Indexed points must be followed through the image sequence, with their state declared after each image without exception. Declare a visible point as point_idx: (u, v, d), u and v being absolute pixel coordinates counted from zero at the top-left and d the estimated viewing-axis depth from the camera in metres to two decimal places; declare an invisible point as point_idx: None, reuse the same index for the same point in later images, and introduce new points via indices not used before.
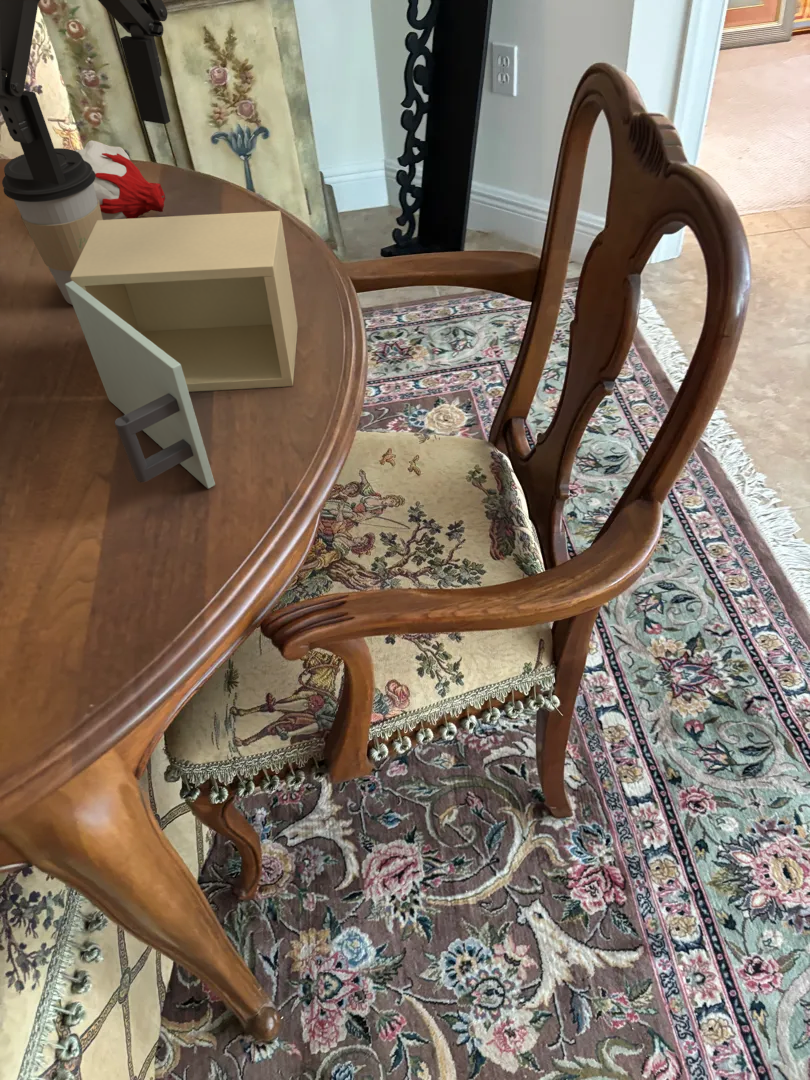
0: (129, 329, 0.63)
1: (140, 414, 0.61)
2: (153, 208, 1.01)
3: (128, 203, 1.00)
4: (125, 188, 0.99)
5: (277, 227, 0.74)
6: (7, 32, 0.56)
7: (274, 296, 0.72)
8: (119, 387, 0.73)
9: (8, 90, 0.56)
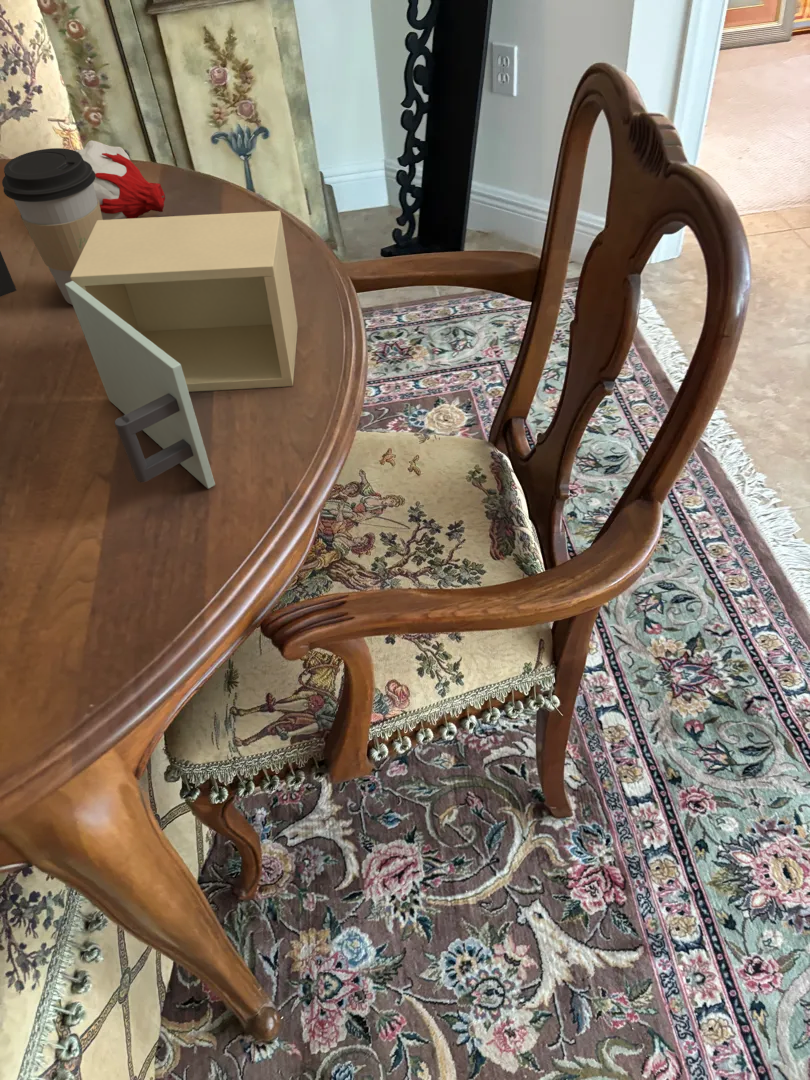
0: (129, 329, 0.63)
1: (140, 414, 0.61)
2: (153, 208, 1.01)
3: (128, 203, 1.00)
4: (125, 188, 0.99)
5: (277, 227, 0.74)
6: None
7: (274, 296, 0.72)
8: (119, 387, 0.73)
9: None
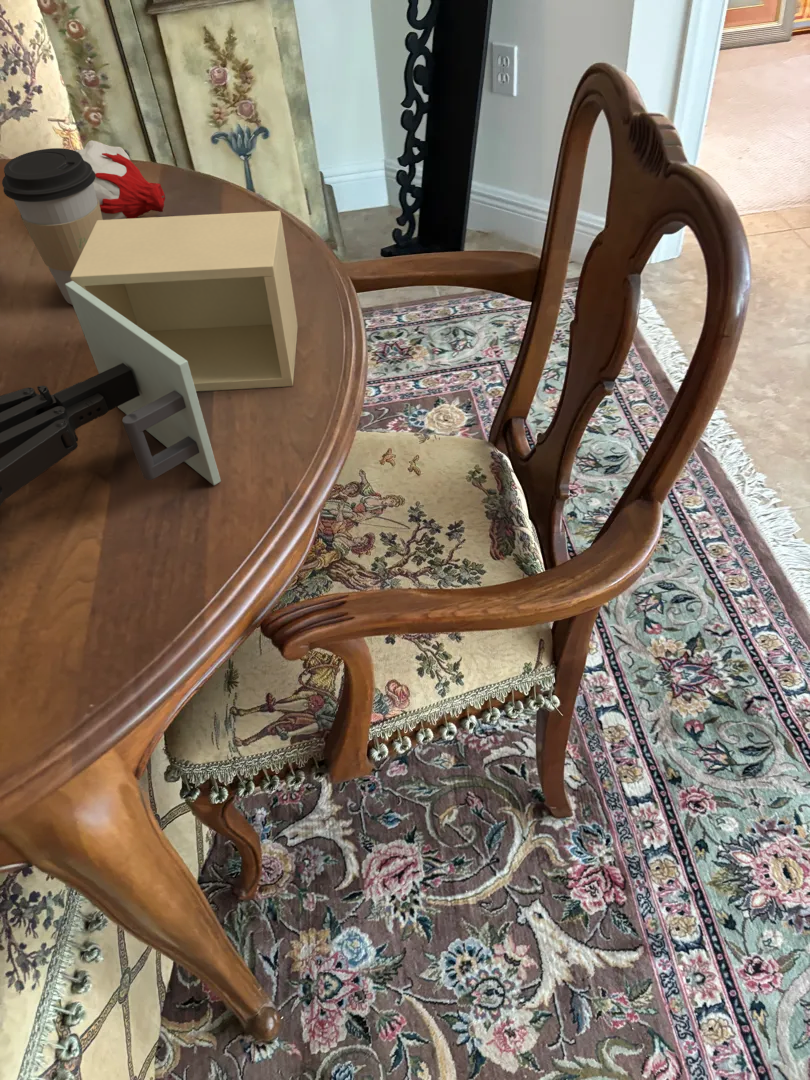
0: (134, 327, 0.63)
1: (147, 412, 0.61)
2: (153, 208, 1.01)
3: (128, 203, 1.00)
4: (125, 188, 0.99)
5: (277, 227, 0.74)
6: None
7: (274, 296, 0.72)
8: None
9: None
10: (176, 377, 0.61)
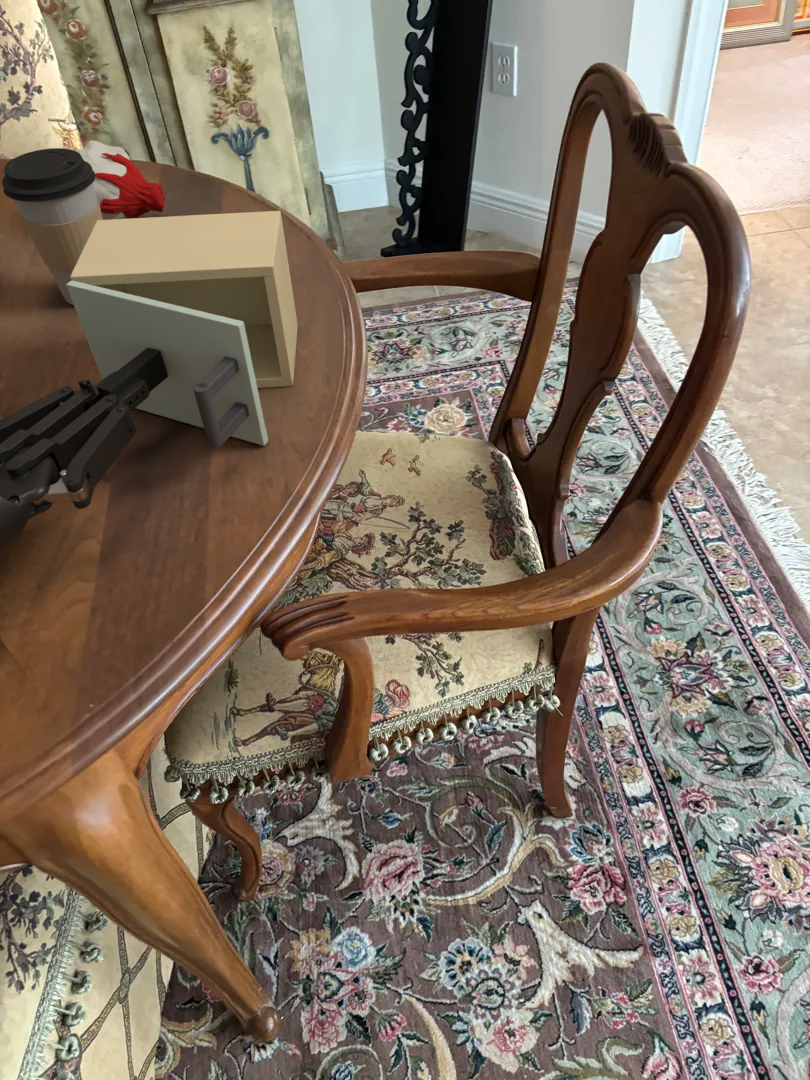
0: (169, 306, 0.66)
1: (213, 378, 0.64)
2: (153, 208, 1.01)
3: (128, 203, 1.00)
4: (125, 188, 0.99)
5: (277, 227, 0.74)
6: None
7: (274, 296, 0.72)
8: None
9: None
10: (231, 341, 0.65)
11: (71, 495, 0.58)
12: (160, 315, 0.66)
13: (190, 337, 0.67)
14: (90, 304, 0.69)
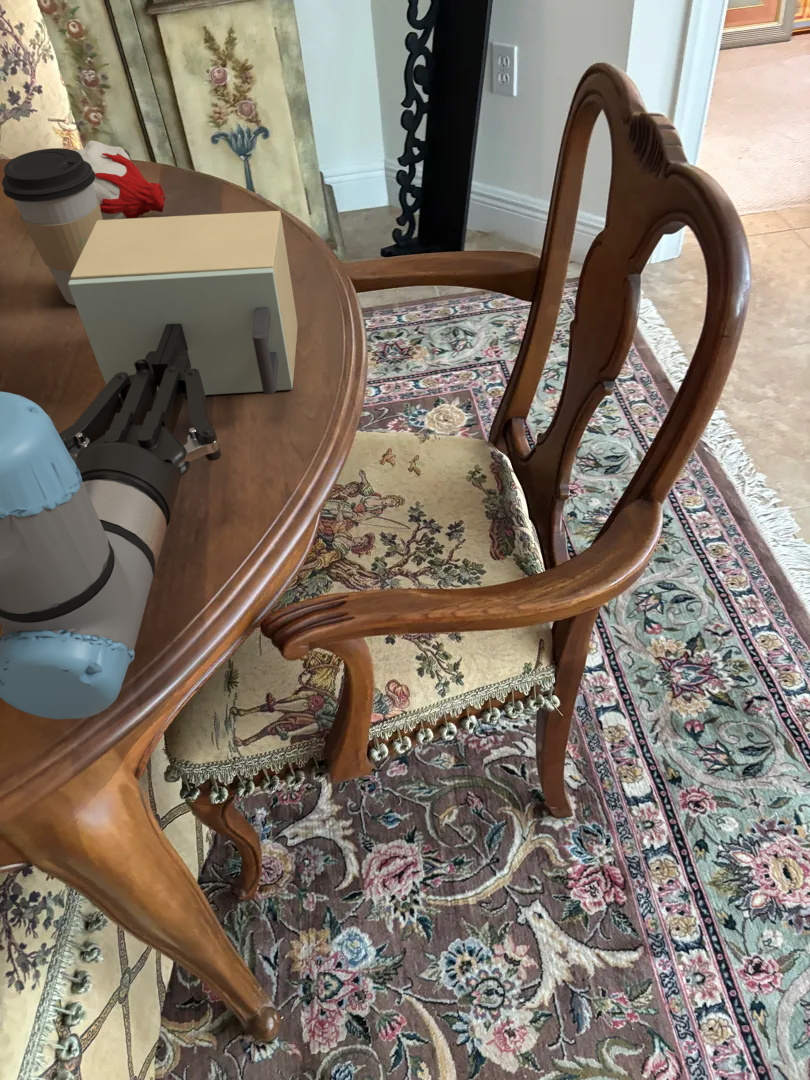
0: (191, 274, 0.69)
1: (263, 325, 0.69)
2: (153, 208, 1.01)
3: (128, 203, 1.00)
4: (125, 188, 0.99)
5: (277, 227, 0.74)
6: None
7: None
8: None
9: None
10: (263, 289, 0.70)
11: (209, 447, 0.61)
12: (183, 286, 0.69)
13: (217, 299, 0.71)
14: (97, 298, 0.70)
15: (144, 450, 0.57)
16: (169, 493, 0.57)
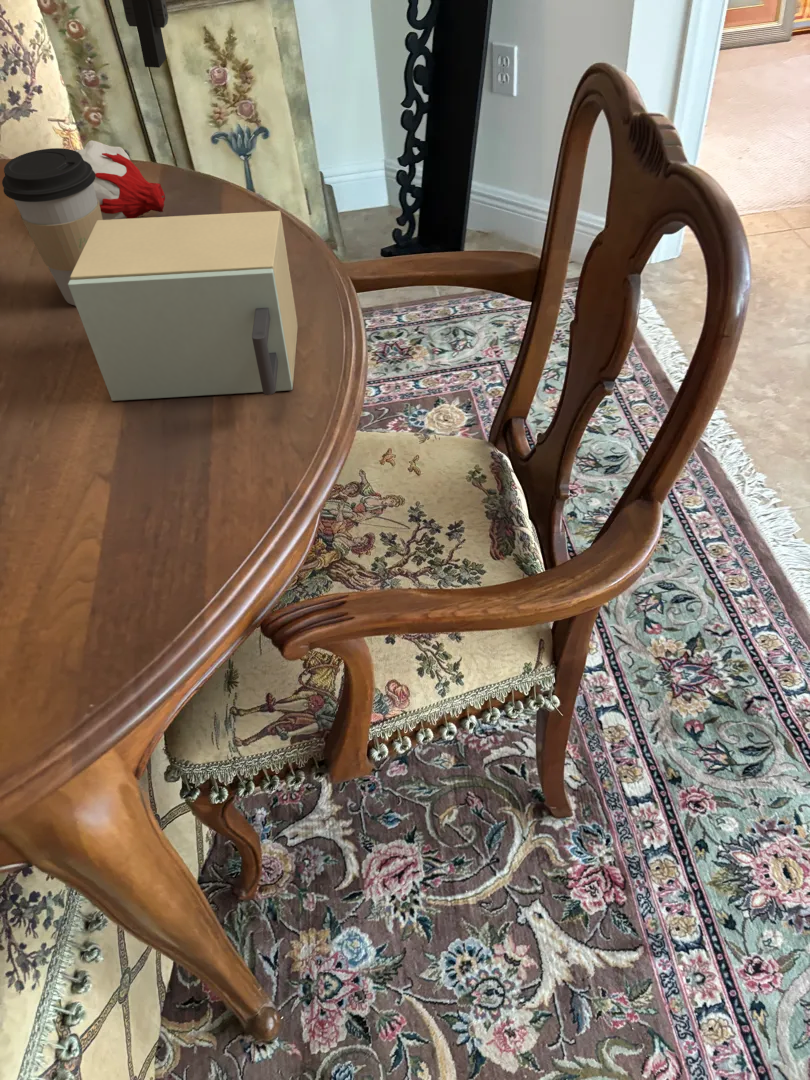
0: (191, 274, 0.69)
1: (263, 326, 0.69)
2: (153, 208, 1.01)
3: (128, 203, 1.00)
4: (125, 188, 0.99)
5: (277, 227, 0.74)
6: None
7: None
8: (146, 365, 0.75)
9: None
10: (263, 290, 0.70)
11: None
12: (183, 286, 0.69)
13: (217, 300, 0.71)
14: (97, 298, 0.70)
15: None
16: None
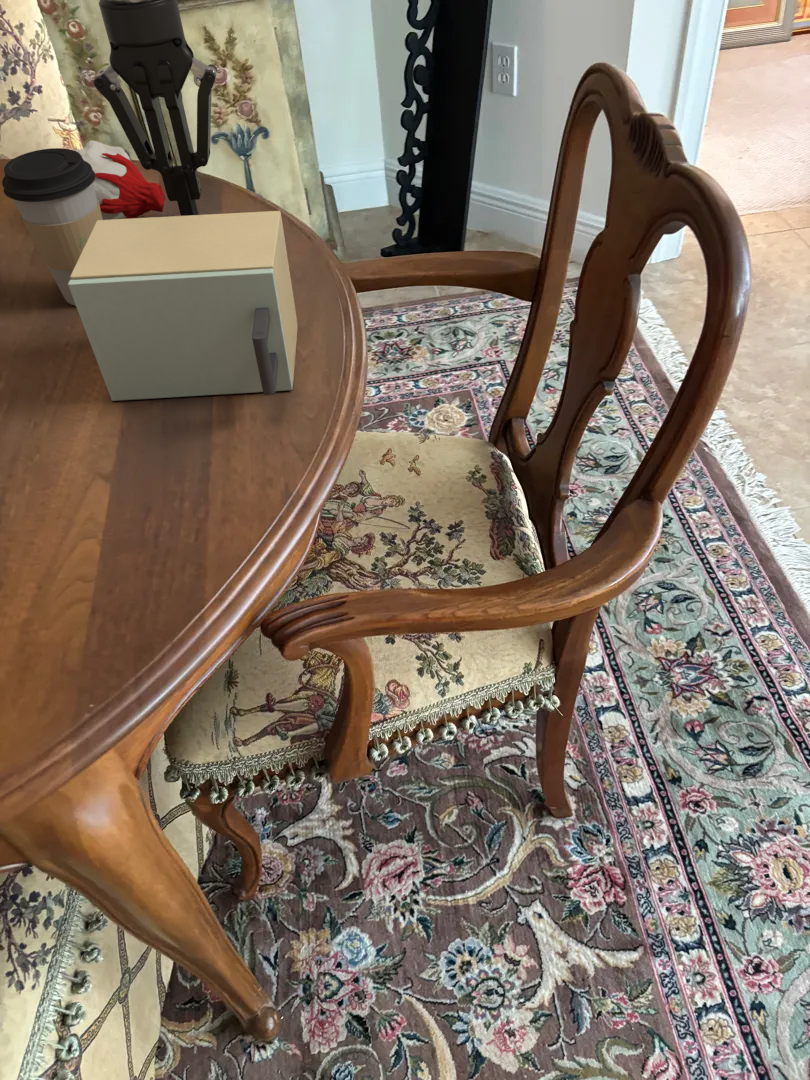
0: (191, 274, 0.69)
1: (263, 326, 0.69)
2: (153, 208, 1.01)
3: (128, 203, 1.00)
4: (125, 188, 0.99)
5: (277, 227, 0.74)
6: (187, 131, 0.87)
7: None
8: (146, 365, 0.75)
9: None
10: (263, 290, 0.70)
11: (99, 74, 0.82)
12: (183, 286, 0.69)
13: (217, 300, 0.71)
14: (97, 298, 0.70)
15: (117, 42, 0.77)
16: None
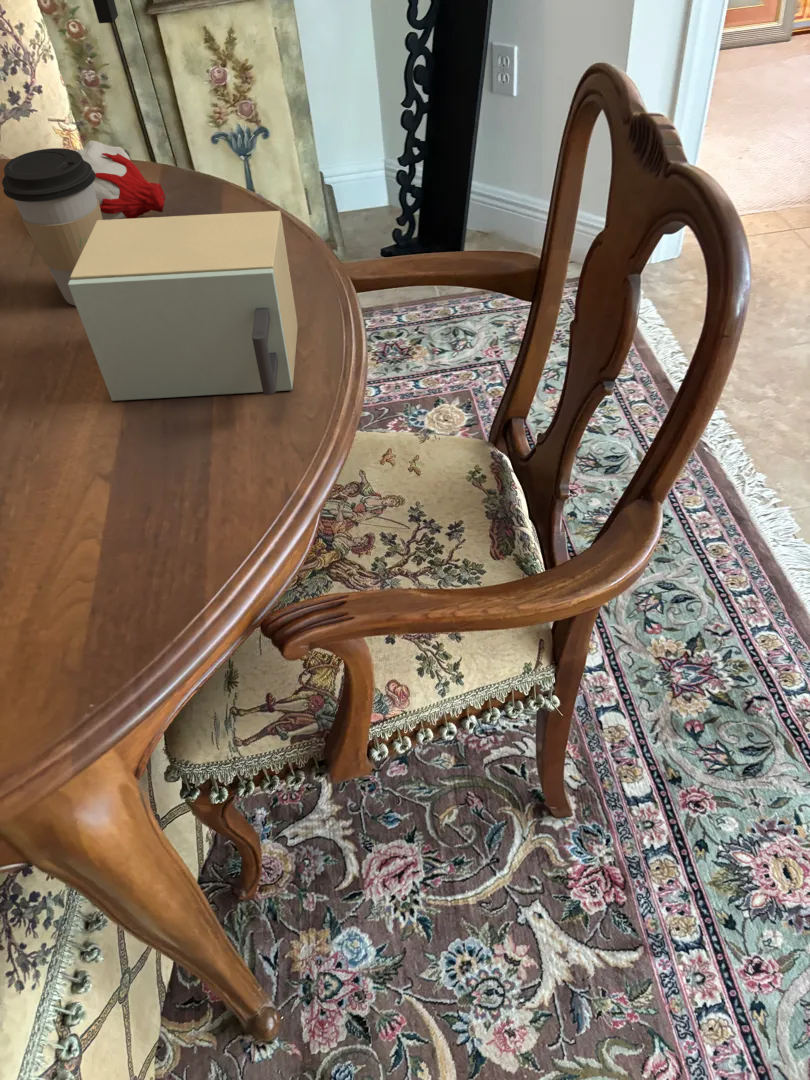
0: (191, 274, 0.69)
1: (263, 326, 0.69)
2: (153, 208, 1.01)
3: (128, 203, 1.00)
4: (125, 188, 0.99)
5: (277, 227, 0.74)
6: None
7: None
8: (146, 365, 0.75)
9: None
10: (263, 290, 0.70)
11: None
12: (183, 286, 0.69)
13: (217, 300, 0.71)
14: (97, 298, 0.70)
15: None
16: None
